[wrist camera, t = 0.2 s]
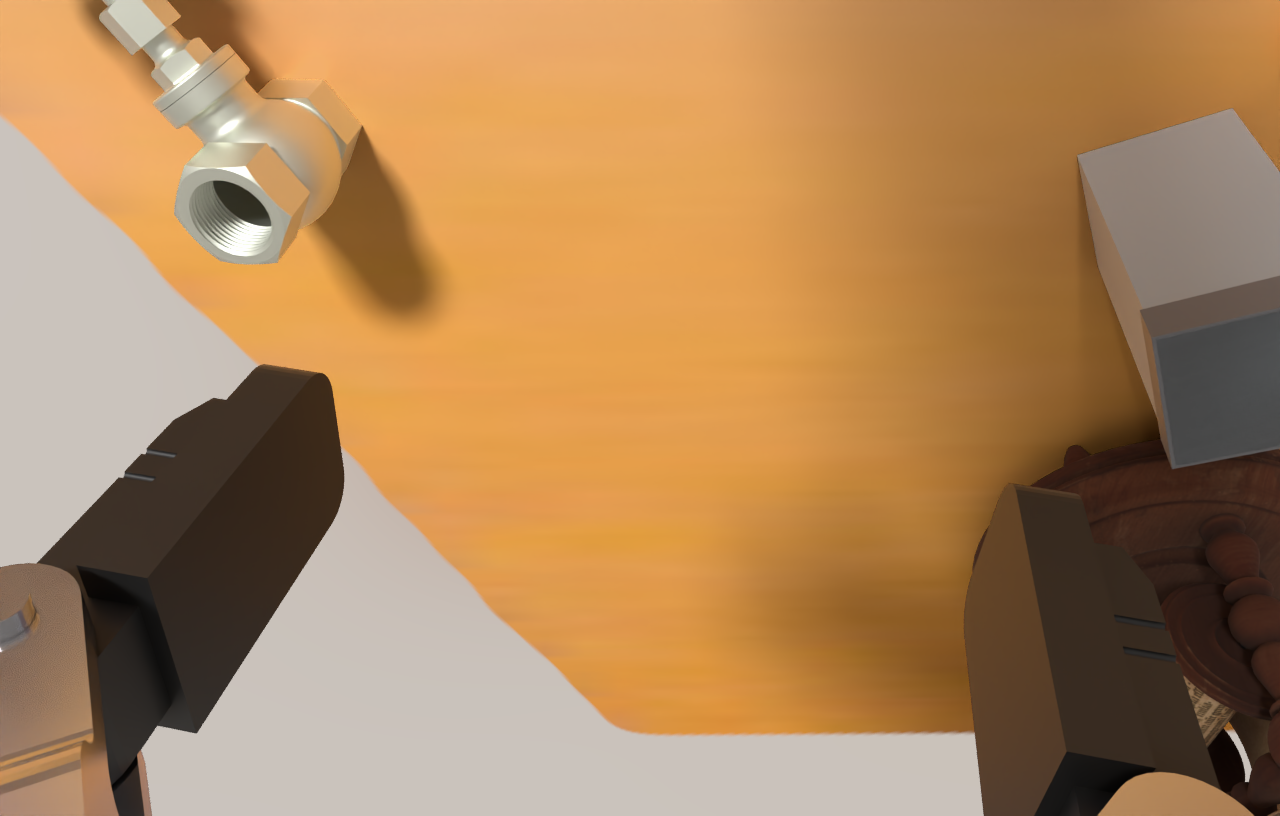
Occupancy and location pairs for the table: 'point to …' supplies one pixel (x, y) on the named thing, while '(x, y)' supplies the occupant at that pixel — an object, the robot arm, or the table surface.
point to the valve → (240, 138)
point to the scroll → (1203, 586)
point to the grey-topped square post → (1195, 279)
